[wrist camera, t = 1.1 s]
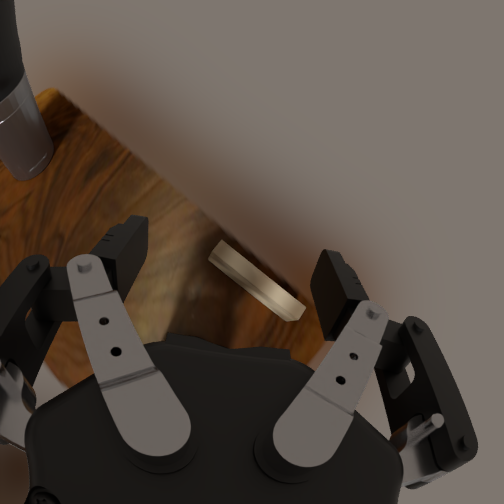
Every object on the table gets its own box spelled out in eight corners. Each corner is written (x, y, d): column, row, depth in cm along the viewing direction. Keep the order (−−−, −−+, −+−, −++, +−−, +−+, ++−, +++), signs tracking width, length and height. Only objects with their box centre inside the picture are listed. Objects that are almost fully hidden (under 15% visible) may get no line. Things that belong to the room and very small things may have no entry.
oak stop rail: (207, 259, 38) (212, 251, 34) (216, 248, 39) (221, 239, 35) (286, 321, 39) (298, 319, 35) (293, 310, 39) (306, 307, 36)
